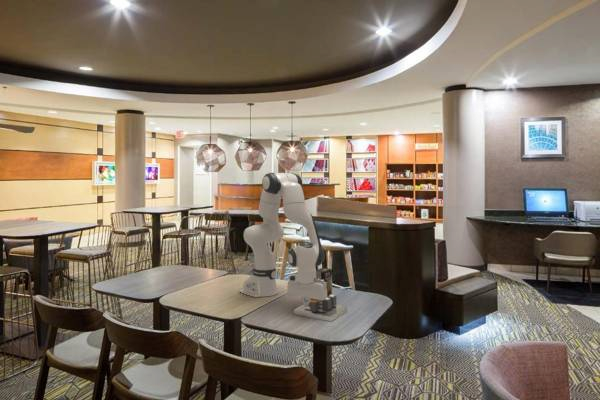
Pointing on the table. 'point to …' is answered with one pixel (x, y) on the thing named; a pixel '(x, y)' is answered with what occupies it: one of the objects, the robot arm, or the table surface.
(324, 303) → the block
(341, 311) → the panel
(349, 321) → the table surface
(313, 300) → the breaker
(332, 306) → the breaker
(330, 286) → the coffee box
